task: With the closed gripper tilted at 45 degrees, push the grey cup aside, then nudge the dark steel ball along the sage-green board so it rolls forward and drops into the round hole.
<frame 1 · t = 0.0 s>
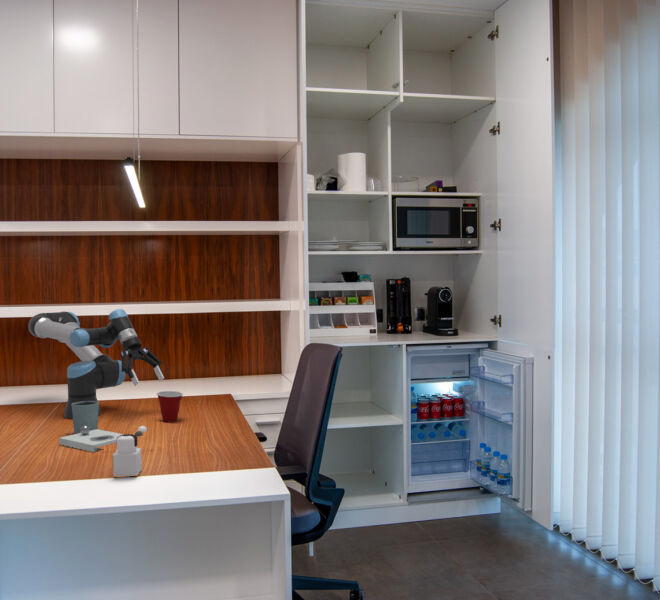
hand: (149, 382, 285), 15 cm above the table, tool tilted 35°, fingers open, 13 cm apart
steel ball: (85, 430, 244), point 4 cm above the table, touching board
board: (95, 443, 240), on the table
plastic cup: (170, 421, 278), on the table
grey cup: (86, 434, 257), on the table
medicine bottle: (127, 474, 202), on the table
white ball: (142, 430, 253), point 2 cm above the table
black ball: (138, 435, 247), point 1 cm above the table
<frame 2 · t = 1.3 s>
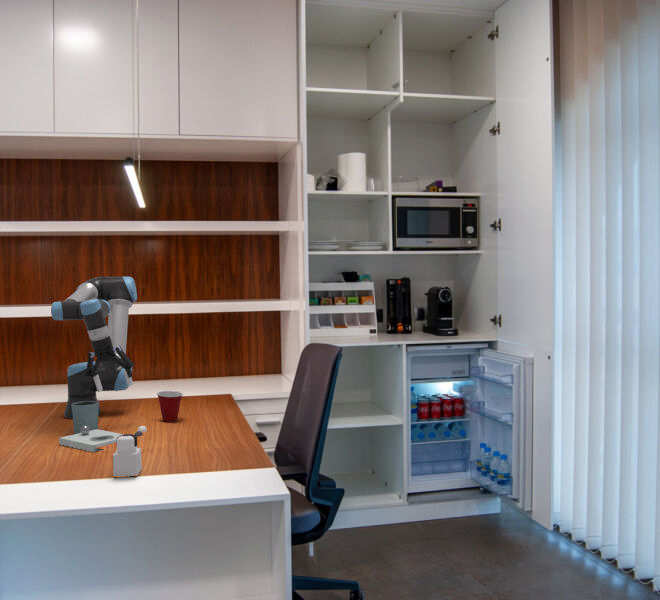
hand: (115, 388, 265), 16 cm above the table, tool tilted 15°, fingers open, 13 cm apart
nothing on the table moved.
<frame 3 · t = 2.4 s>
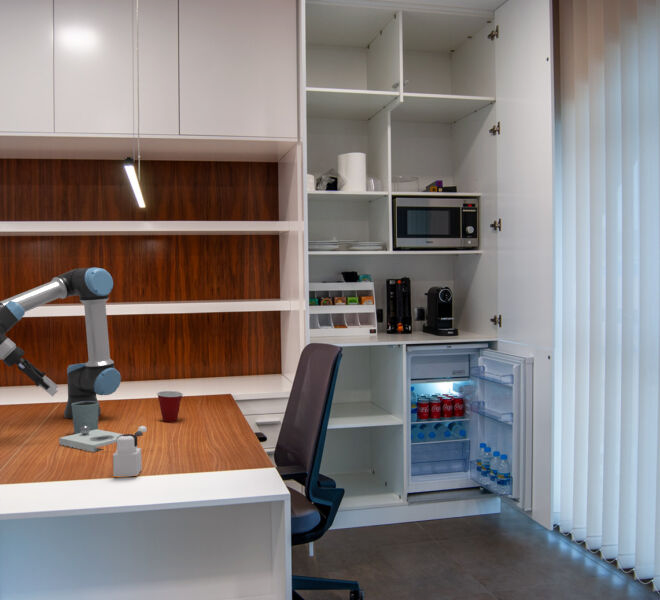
hand: (55, 391, 252), 17 cm above the table, tool tilted 45°, fingers open, 11 cm apart
nothing on the table moved.
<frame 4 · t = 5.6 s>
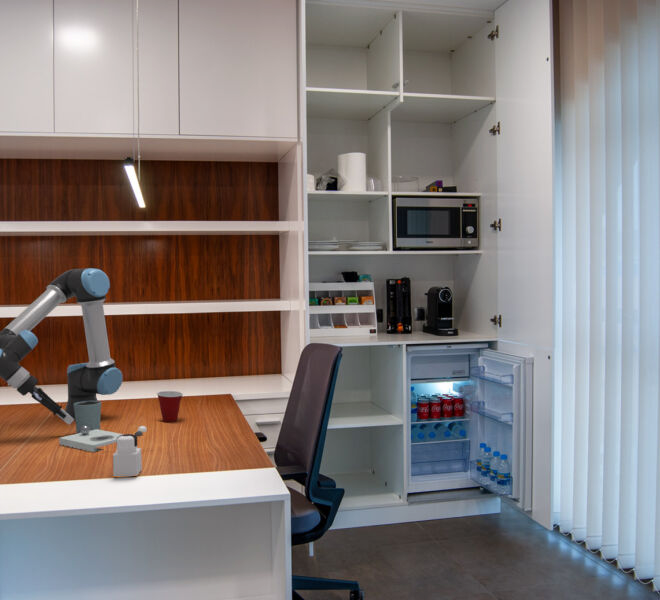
hand: (71, 422, 254), 5 cm above the table, tool tilted 45°, fingers closed
grey cup: (88, 433, 257), on the table, touching gripper
everything else where it was.
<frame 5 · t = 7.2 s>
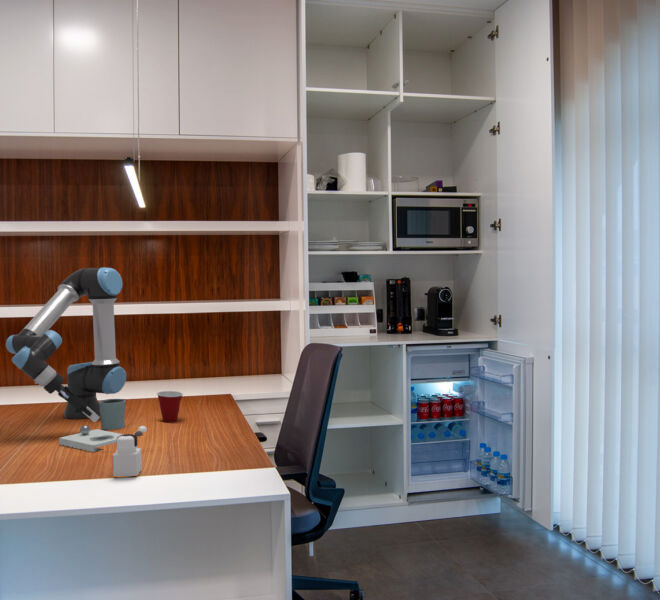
hand: (97, 419, 257), 5 cm above the table, tool tilted 45°, fingers closed
grey cup: (113, 431, 261), on the table, touching gripper
everything else where it was.
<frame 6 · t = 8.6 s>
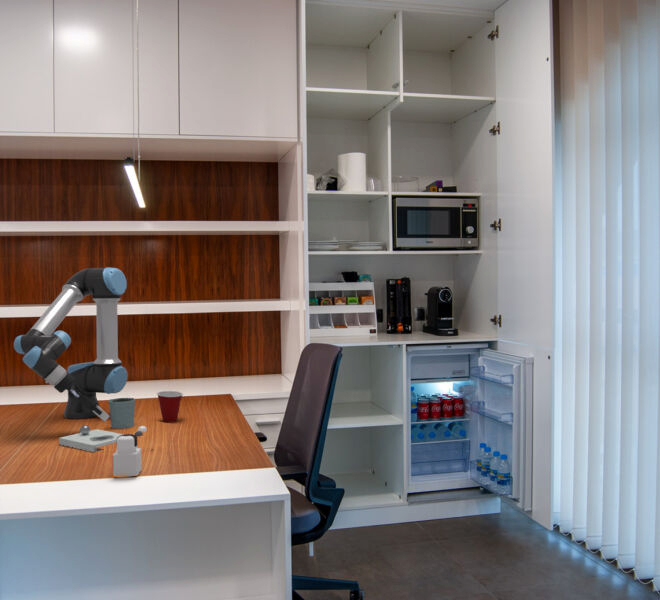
hand: (107, 418, 259), 5 cm above the table, tool tilted 45°, fingers closed
grey cup: (122, 430, 262), on the table, touching gripper
everything else where it was.
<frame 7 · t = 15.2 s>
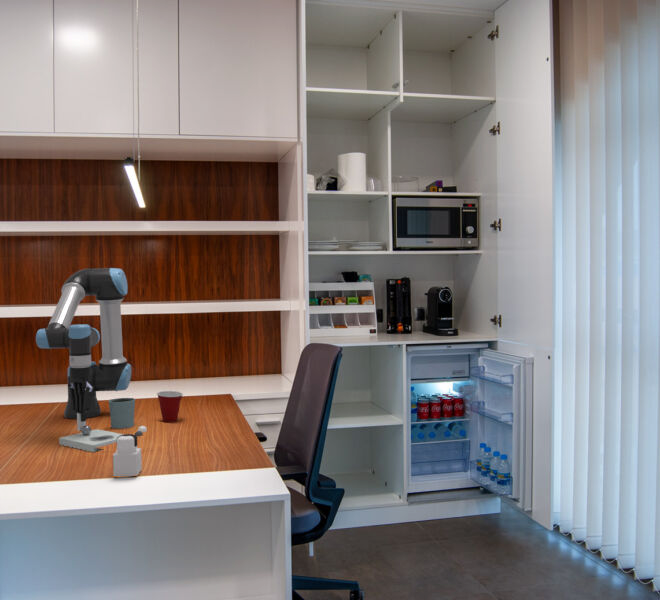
hand: (81, 429, 244), 4 cm above the table, tool pointing down, fingers closed
steel ball: (86, 430, 243), point 4 cm above the table, tilted 25°, touching board, gripper
grey cup: (122, 430, 262), on the table
everything else where it was.
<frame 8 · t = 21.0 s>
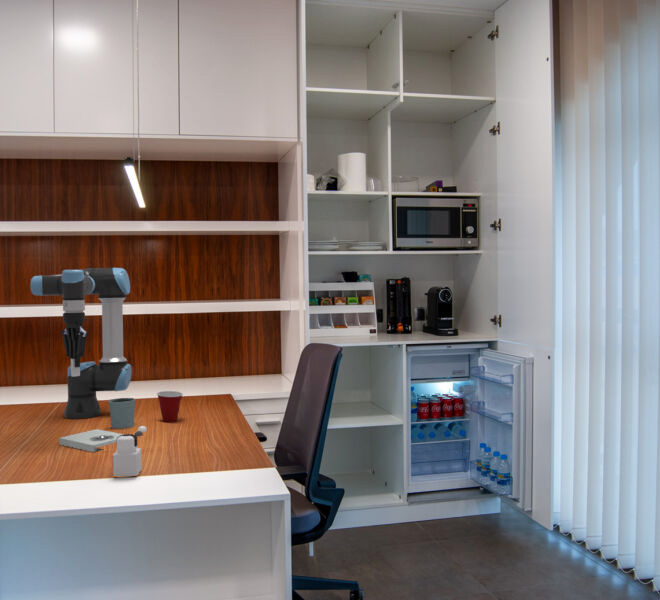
hand: (75, 376, 243), 24 cm above the table, tool pointing down, fingers closed
steel ball: (102, 440, 238), point 2 cm above the table, tilted 5°
everything else where it was.
at the end: steel ball 0.0 cm from the target spot in the board, point 1.7 cm above the board's base; grey cup moved 13.7 cm from its start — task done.
